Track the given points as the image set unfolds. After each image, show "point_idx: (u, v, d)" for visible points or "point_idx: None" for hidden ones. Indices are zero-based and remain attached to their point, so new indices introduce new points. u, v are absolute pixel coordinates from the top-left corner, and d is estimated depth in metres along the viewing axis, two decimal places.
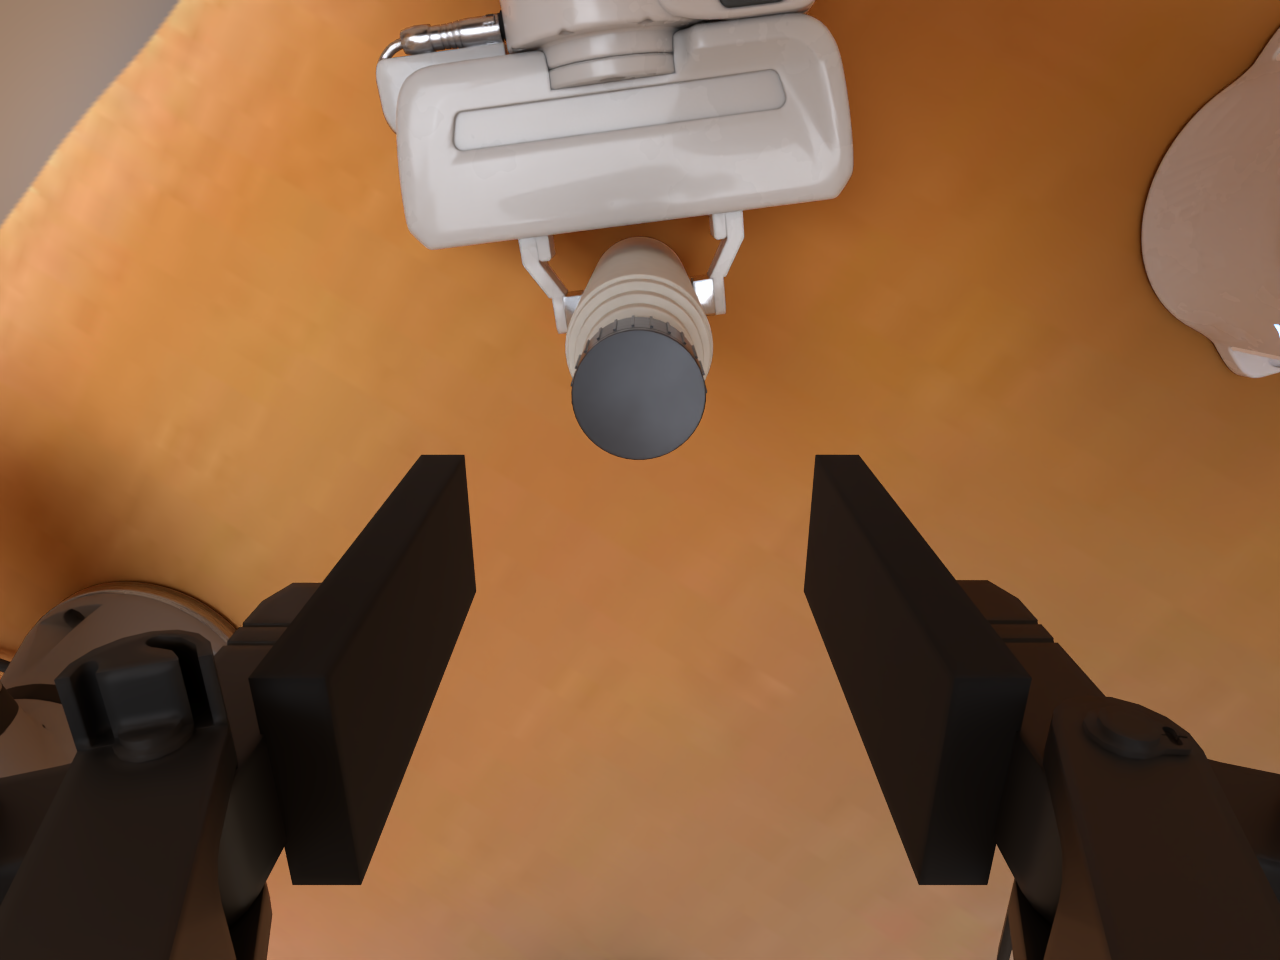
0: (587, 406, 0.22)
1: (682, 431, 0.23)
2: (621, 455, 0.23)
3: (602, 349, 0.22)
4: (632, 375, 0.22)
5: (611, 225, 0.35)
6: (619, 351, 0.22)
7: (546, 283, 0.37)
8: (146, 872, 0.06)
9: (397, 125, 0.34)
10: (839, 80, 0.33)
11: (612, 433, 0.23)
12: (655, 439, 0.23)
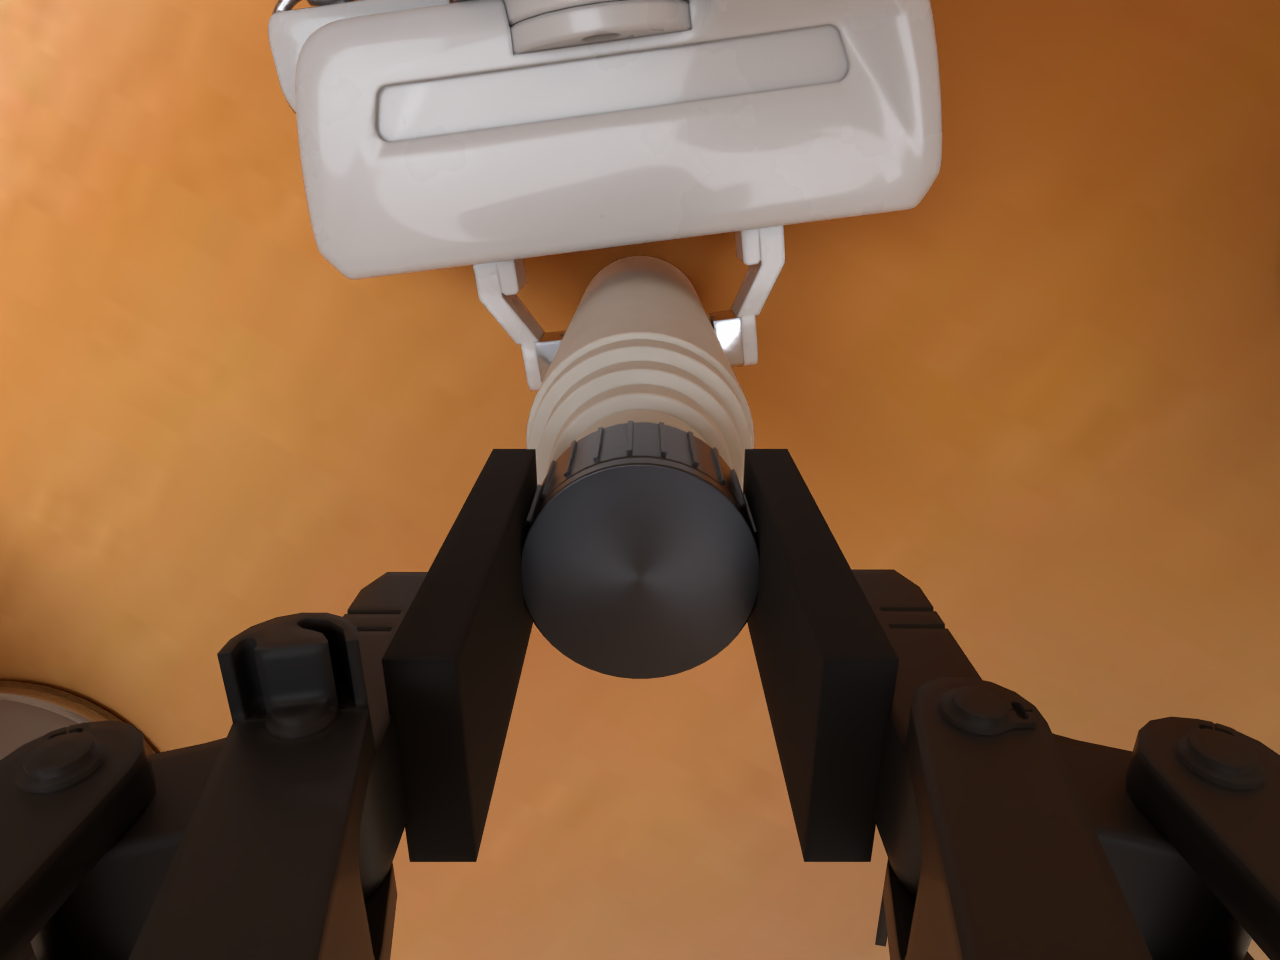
0: (547, 593, 0.12)
1: (717, 634, 0.13)
2: (609, 672, 0.13)
3: (573, 497, 0.12)
4: (629, 542, 0.12)
5: (601, 246, 0.25)
6: (604, 501, 0.12)
7: (512, 324, 0.27)
8: (298, 847, 0.06)
9: (296, 105, 0.24)
10: (929, 40, 0.23)
11: (593, 637, 0.13)
12: (669, 646, 0.13)
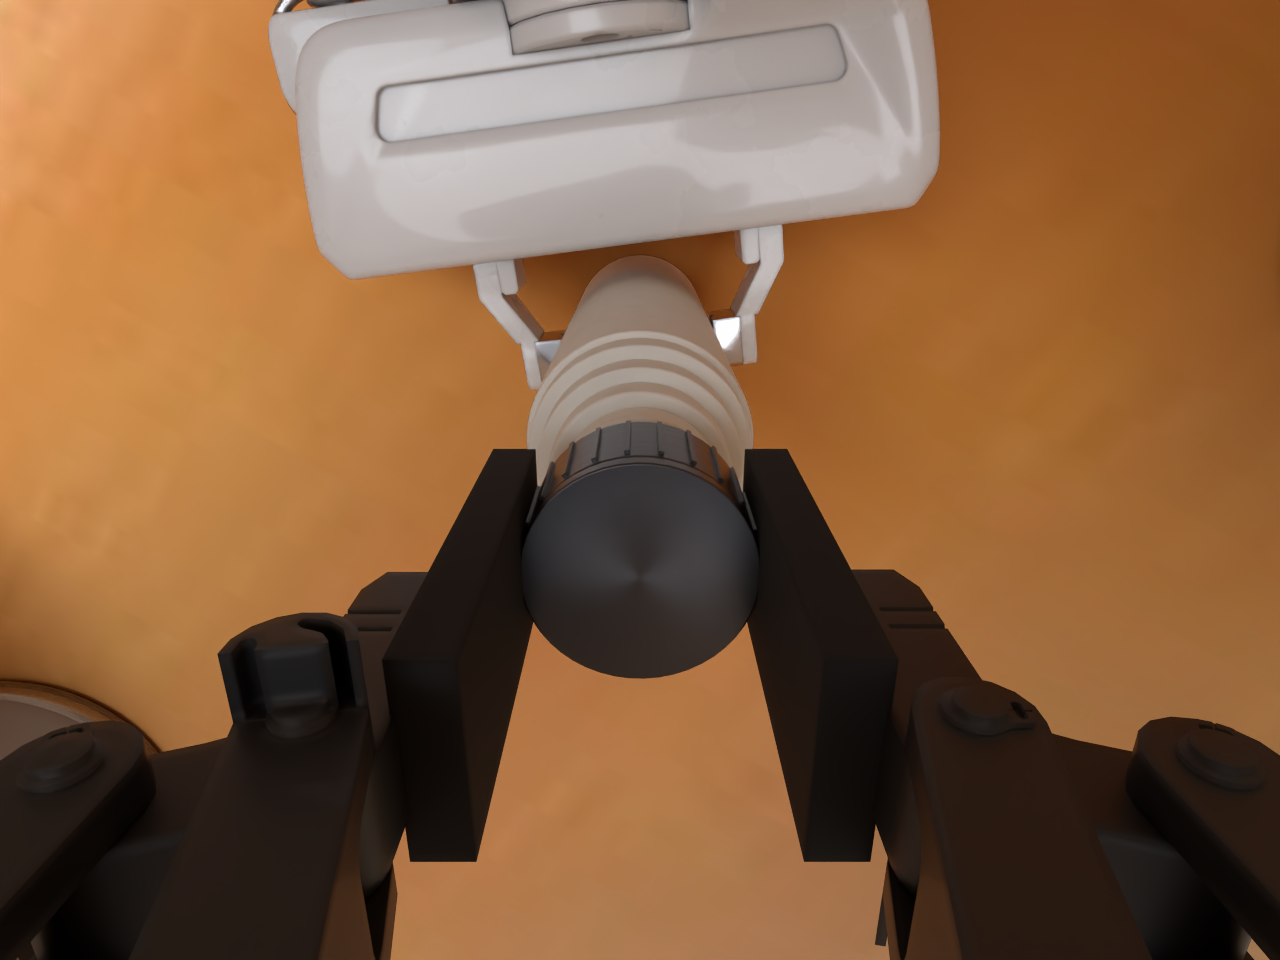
0: (687, 646, 0.13)
1: (674, 486, 0.12)
2: (757, 569, 0.12)
3: (584, 654, 0.13)
4: (607, 598, 0.13)
5: (600, 245, 0.25)
6: (576, 629, 0.13)
7: (512, 324, 0.27)
8: (298, 848, 0.06)
9: (297, 106, 0.24)
10: (926, 39, 0.23)
11: (721, 595, 0.12)
12: (707, 524, 0.12)
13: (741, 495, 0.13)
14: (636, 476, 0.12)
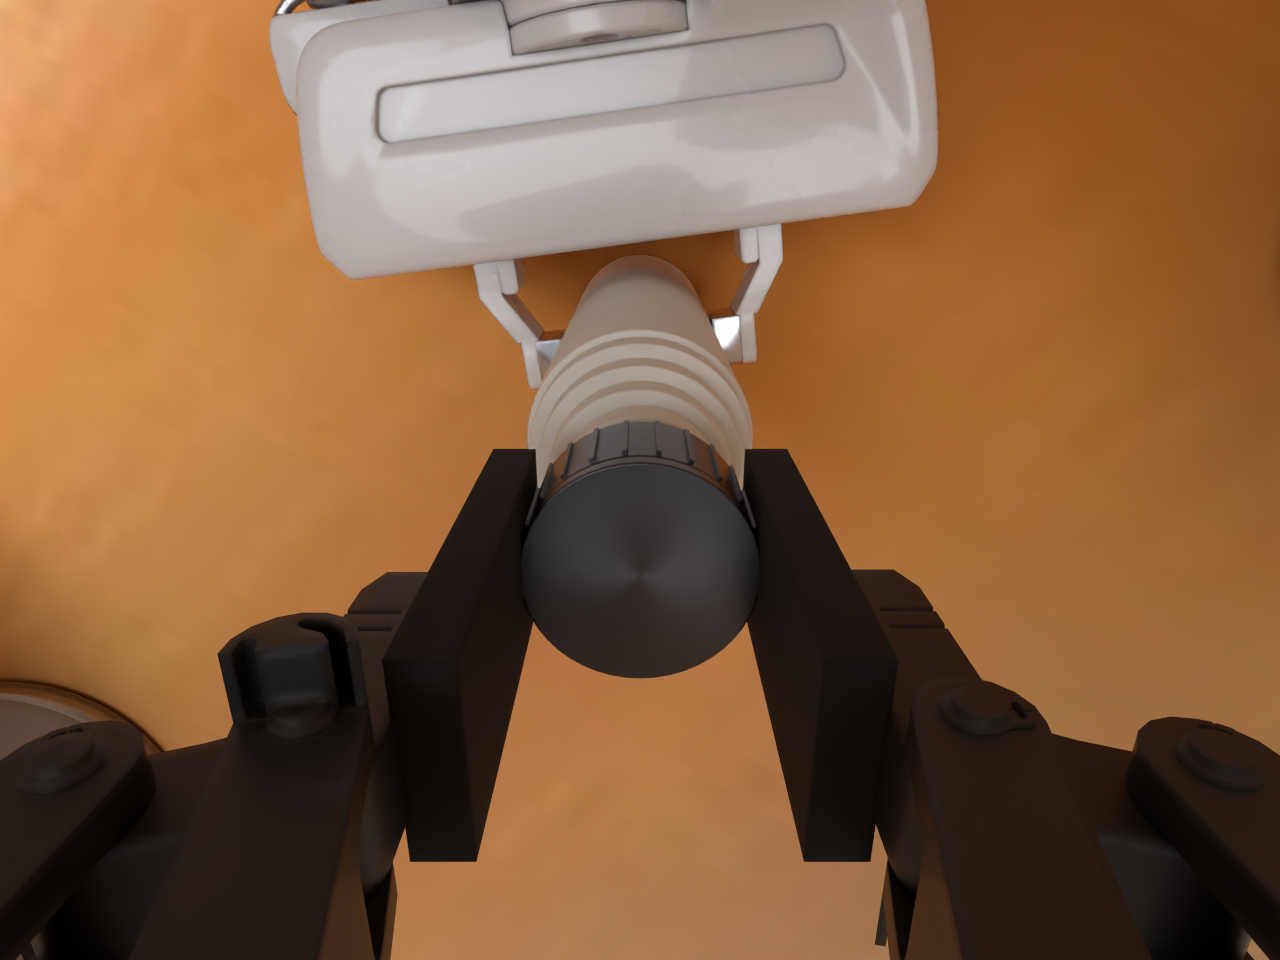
0: (700, 508, 0.12)
1: (537, 580, 0.12)
2: (588, 478, 0.12)
3: (744, 596, 0.13)
4: (674, 597, 0.13)
5: (600, 245, 0.26)
6: (719, 611, 0.13)
7: (512, 323, 0.27)
8: (298, 847, 0.06)
9: (297, 107, 0.24)
10: (924, 38, 0.23)
11: (630, 499, 0.12)
12: (562, 539, 0.12)
13: (540, 493, 0.13)
14: (542, 613, 0.13)
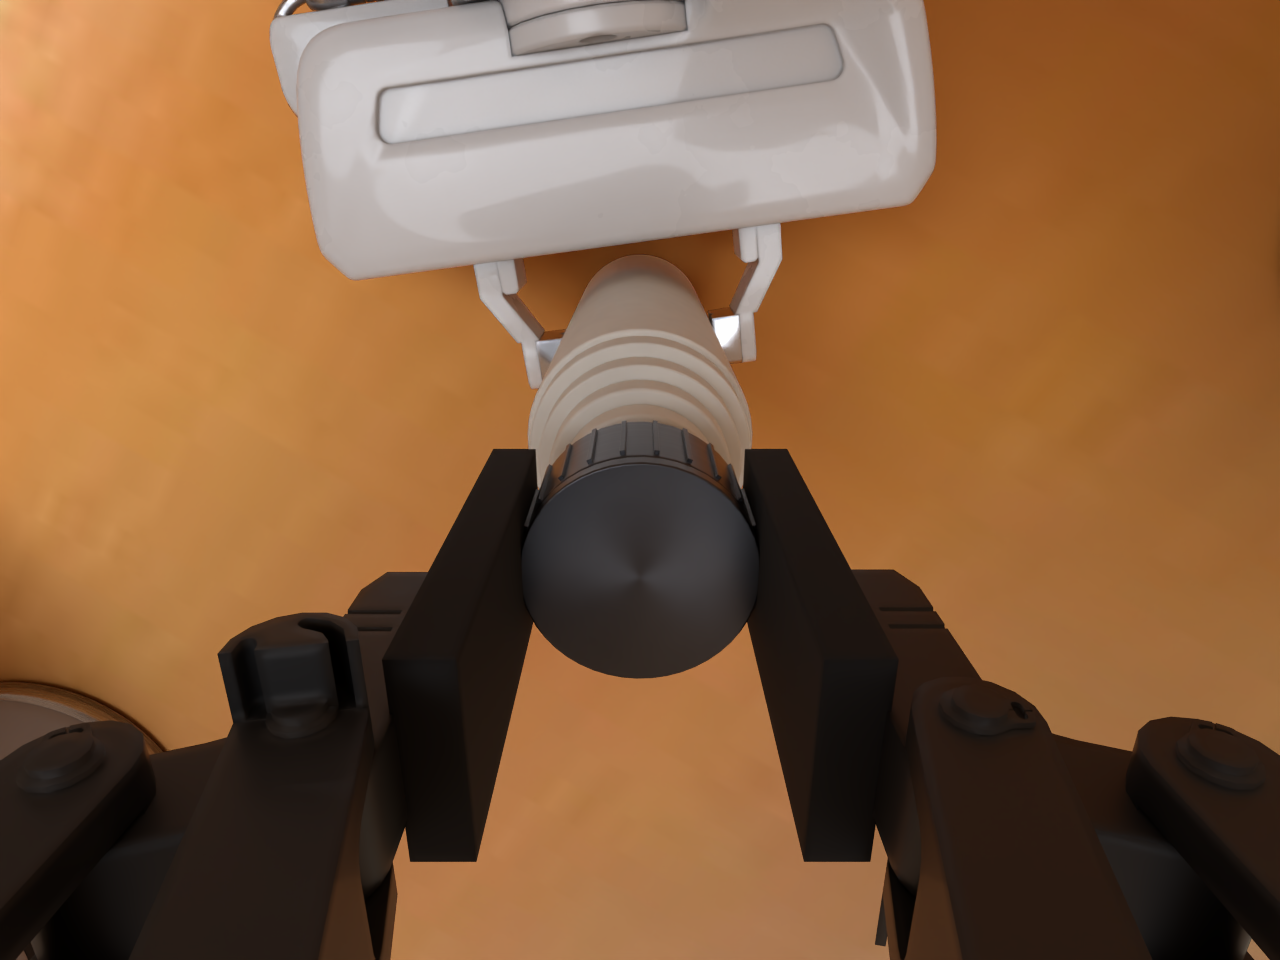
0: (548, 552, 0.12)
1: (678, 658, 0.13)
2: (561, 649, 0.13)
3: (623, 477, 0.12)
4: (649, 540, 0.12)
5: (600, 245, 0.26)
6: (649, 494, 0.12)
7: (513, 323, 0.27)
8: (298, 847, 0.06)
9: (298, 108, 0.24)
10: (922, 38, 0.23)
11: (566, 610, 0.13)
12: (629, 650, 0.13)
13: None
14: (711, 644, 0.13)
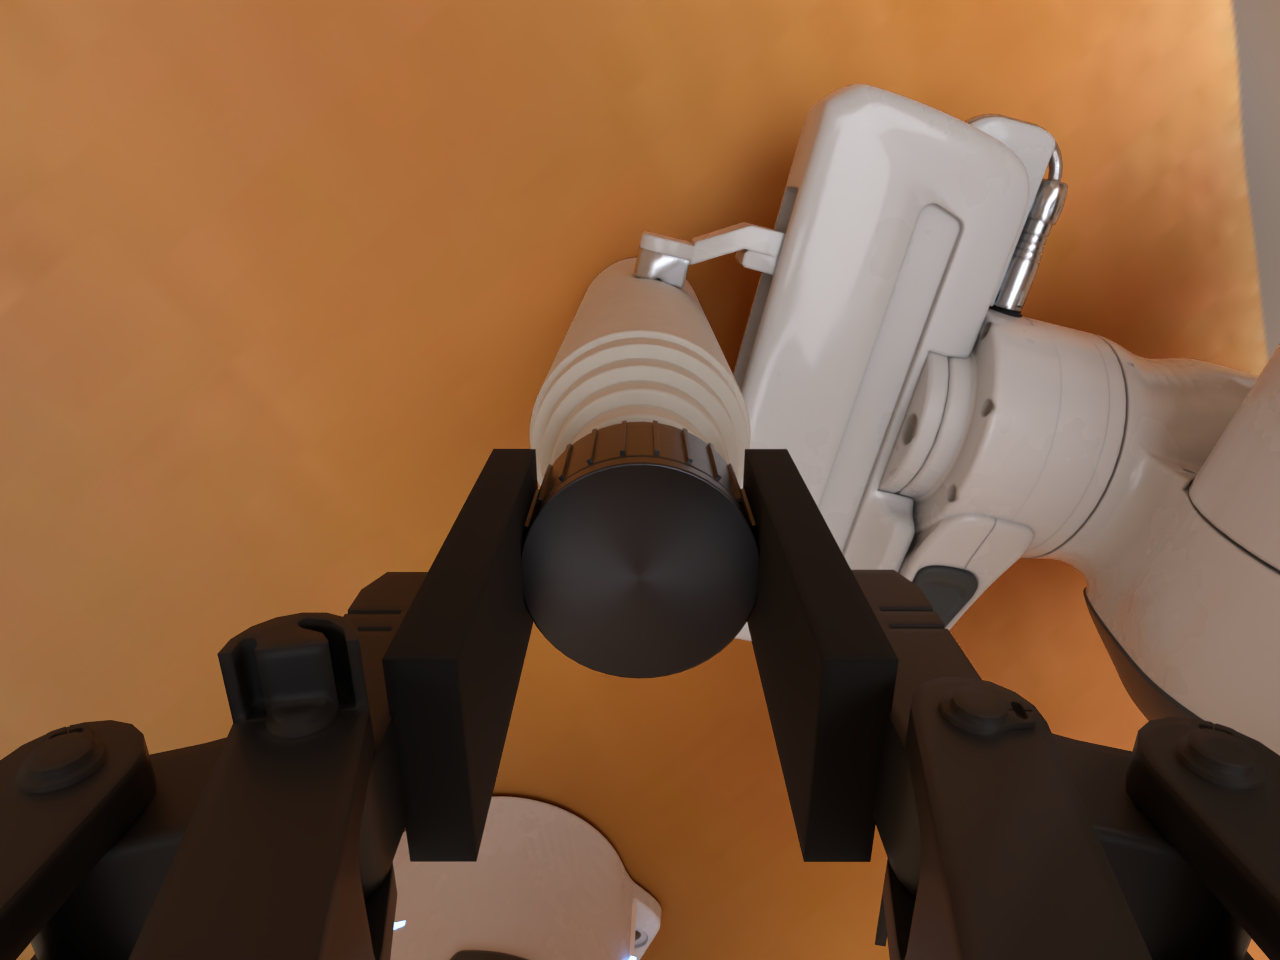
0: (548, 552, 0.12)
1: (678, 658, 0.13)
2: (562, 648, 0.13)
3: (623, 477, 0.12)
4: (649, 540, 0.12)
5: (753, 362, 0.27)
6: (649, 494, 0.12)
7: (715, 246, 0.27)
8: (298, 847, 0.06)
9: (988, 137, 0.25)
10: None
11: (566, 610, 0.13)
12: (629, 650, 0.13)
13: None
14: (711, 644, 0.13)
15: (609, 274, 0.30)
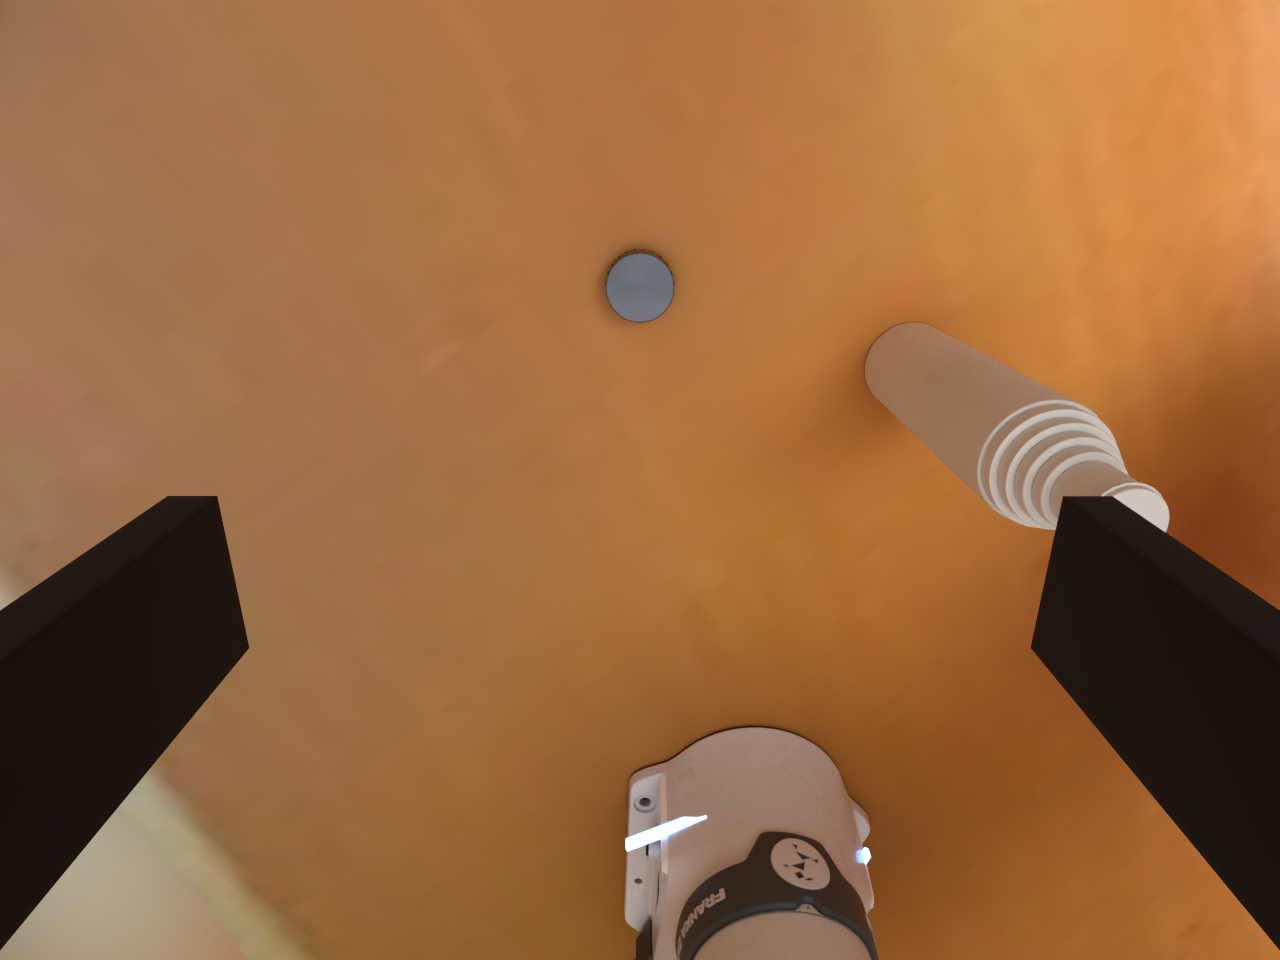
0: (614, 280, 0.44)
1: (651, 315, 0.45)
2: (617, 312, 0.45)
3: (635, 257, 0.44)
4: (642, 276, 0.44)
5: None
6: (642, 262, 0.44)
7: None
8: None
9: None
10: None
11: (619, 299, 0.44)
12: (636, 312, 0.45)
13: None
14: (660, 310, 0.45)
15: (914, 339, 0.43)
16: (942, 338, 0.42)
